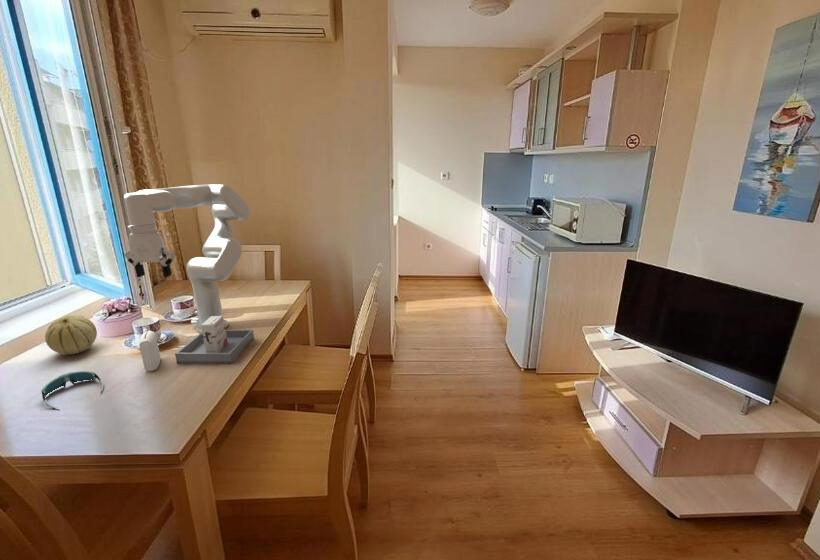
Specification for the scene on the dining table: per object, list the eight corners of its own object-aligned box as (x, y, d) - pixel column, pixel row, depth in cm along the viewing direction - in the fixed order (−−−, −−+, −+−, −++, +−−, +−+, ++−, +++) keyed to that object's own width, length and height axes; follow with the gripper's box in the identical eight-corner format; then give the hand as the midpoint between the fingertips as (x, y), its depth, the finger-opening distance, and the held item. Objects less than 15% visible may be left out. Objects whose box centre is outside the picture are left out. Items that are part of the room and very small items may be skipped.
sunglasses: (95, 376, 131) (92, 364, 129) (110, 397, 123) (107, 384, 121) (39, 395, 121) (35, 382, 119) (52, 420, 113) (48, 406, 111)
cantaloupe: (93, 339, 157) (83, 305, 153) (107, 349, 149) (97, 314, 145) (46, 354, 146) (34, 318, 141) (58, 365, 138) (45, 327, 133)
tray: (176, 363, 139) (174, 353, 138) (206, 338, 158) (204, 329, 157) (231, 363, 138) (229, 354, 137) (254, 338, 157) (252, 329, 156)
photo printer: (148, 359, 142) (141, 329, 138) (162, 357, 143) (155, 326, 140) (144, 373, 133) (136, 340, 129) (158, 370, 134) (151, 338, 131)
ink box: (215, 342, 152) (210, 315, 148) (228, 342, 152) (223, 315, 148) (205, 353, 144) (199, 324, 140) (218, 353, 144) (213, 324, 140)
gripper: (111, 231, 130) (123, 279, 135) (161, 231, 129) (171, 279, 134) (127, 227, 137) (138, 273, 142) (175, 227, 136) (184, 273, 142)
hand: (154, 276), depth 138 cm, fingers open, 9 cm apart
